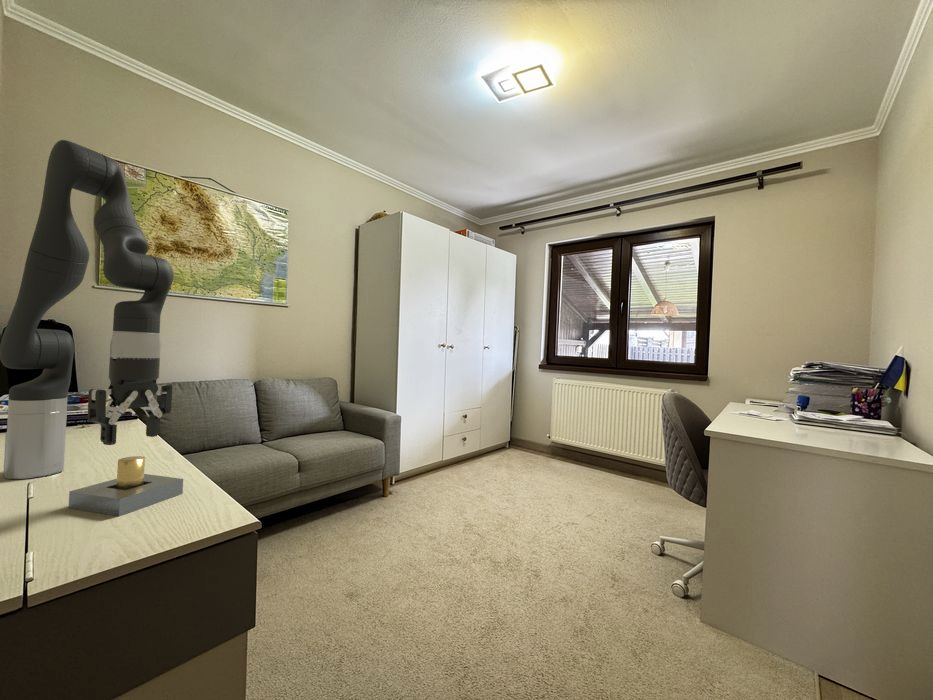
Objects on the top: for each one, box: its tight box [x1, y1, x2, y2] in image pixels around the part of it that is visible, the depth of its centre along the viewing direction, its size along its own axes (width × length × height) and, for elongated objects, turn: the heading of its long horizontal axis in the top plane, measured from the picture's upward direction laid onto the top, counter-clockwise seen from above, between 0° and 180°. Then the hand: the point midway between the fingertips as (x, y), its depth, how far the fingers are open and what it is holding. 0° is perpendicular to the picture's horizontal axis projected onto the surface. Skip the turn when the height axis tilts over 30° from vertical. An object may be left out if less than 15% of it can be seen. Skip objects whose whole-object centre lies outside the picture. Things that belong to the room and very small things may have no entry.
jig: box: [68, 473, 184, 517], centre depth 76 cm, size 12×12×3 cm
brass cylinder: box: [116, 455, 146, 490], centre depth 77 cm, size 4×4×8 cm
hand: (131, 440), depth 77 cm, fingers open, 7 cm apart
